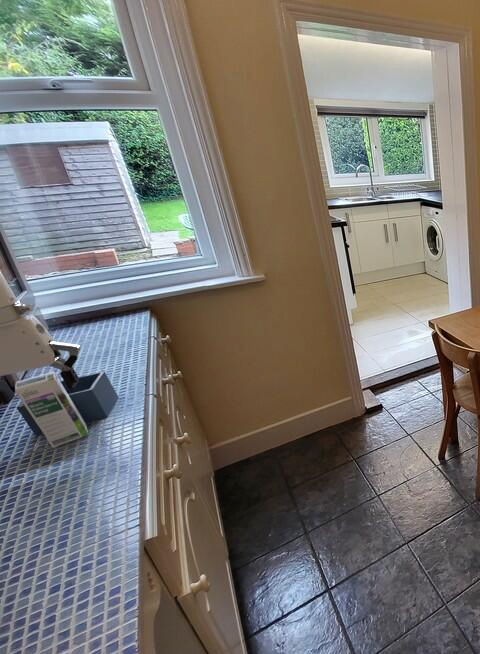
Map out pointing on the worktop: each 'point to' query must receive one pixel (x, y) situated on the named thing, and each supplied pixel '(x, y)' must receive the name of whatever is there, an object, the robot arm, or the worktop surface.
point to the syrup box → (51, 408)
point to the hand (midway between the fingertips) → (42, 393)
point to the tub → (83, 399)
